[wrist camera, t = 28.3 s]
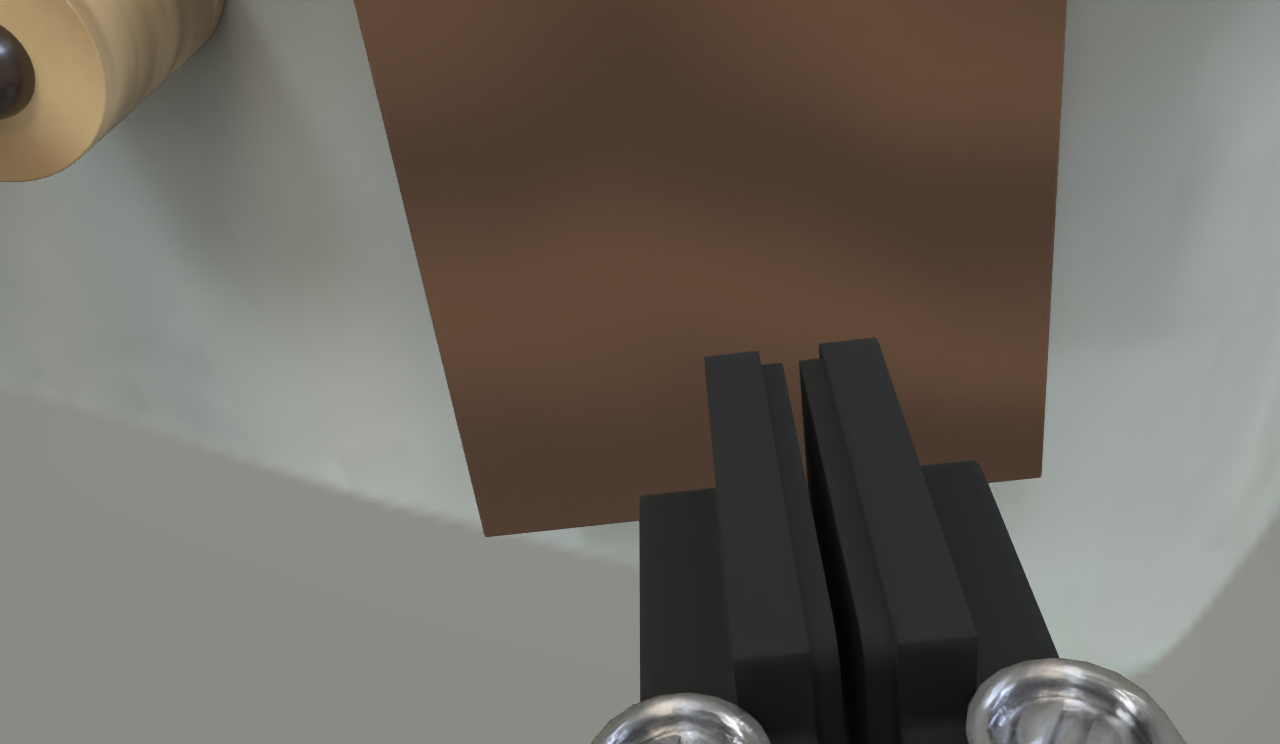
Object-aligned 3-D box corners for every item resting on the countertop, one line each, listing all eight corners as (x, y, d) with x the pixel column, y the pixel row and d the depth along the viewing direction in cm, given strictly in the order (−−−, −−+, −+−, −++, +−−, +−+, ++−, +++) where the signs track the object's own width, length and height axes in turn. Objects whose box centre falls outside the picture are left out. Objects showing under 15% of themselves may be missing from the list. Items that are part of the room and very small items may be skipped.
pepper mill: (110, -172, 30) (-86, -108, 21) (264, -16, 32) (138, 97, 23) (-7, -39, 31) (-231, 68, 23) (146, 102, 33) (-9, 246, 25)
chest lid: (1033, 460, 31) (1041, 478, 30) (487, 519, 32) (484, 538, 31) (1072, -339, 22) (1085, -340, 21) (308, -228, 23) (297, -225, 22)
